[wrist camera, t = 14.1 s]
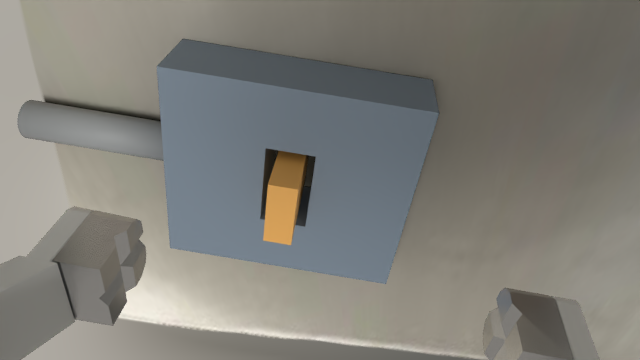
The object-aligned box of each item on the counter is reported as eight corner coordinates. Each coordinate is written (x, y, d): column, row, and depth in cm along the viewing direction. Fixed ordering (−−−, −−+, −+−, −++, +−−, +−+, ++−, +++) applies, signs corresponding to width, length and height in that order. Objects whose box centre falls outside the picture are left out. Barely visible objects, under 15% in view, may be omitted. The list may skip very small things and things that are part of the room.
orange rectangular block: (287, 124, 38) (267, 184, 31) (312, 128, 38) (298, 189, 31) (281, 175, 41) (263, 240, 34) (305, 179, 41) (291, 245, 34)
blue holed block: (432, 79, 35) (439, 113, 31) (385, 242, 44) (385, 284, 40) (17, 11, 35) (-31, 35, 31) (59, 187, 44) (26, 224, 40)
